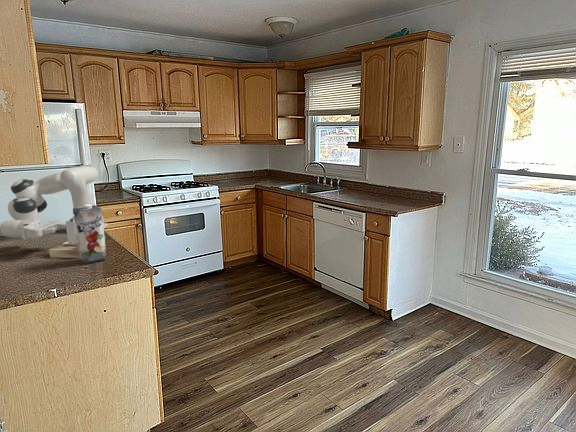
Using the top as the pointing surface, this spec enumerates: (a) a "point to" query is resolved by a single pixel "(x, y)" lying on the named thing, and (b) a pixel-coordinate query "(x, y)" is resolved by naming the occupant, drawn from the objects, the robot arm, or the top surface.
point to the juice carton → (90, 233)
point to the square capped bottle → (71, 232)
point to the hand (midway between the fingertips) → (60, 228)
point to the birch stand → (65, 251)
